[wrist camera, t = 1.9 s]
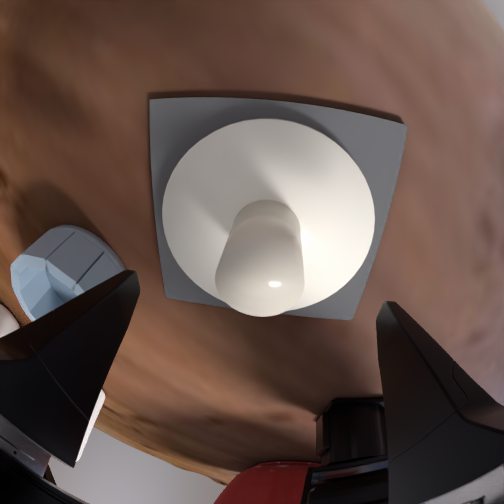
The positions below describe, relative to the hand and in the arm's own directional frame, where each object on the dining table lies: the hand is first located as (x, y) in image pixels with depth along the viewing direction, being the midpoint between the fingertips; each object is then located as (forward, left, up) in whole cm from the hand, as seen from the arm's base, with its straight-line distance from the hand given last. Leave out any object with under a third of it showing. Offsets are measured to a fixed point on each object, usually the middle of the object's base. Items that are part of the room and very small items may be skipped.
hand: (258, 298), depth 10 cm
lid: (0, 0, -5) cm, 5 cm away
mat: (0, 0, -6) cm, 6 cm away
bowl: (+13, +6, -6) cm, 15 cm away
